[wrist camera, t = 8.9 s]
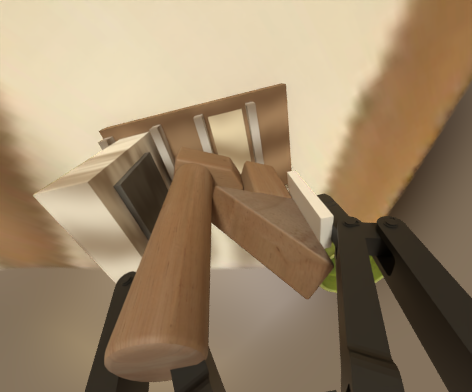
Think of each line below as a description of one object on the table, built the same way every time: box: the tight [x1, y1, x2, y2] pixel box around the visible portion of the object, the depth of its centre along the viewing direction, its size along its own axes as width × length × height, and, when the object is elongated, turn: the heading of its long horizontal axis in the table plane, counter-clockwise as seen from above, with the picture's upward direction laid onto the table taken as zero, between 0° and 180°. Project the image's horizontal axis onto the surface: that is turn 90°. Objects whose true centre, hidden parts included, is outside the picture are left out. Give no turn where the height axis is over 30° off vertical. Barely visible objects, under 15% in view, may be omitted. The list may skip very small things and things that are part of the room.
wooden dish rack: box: [33, 84, 291, 283], centre depth 22 cm, size 14×24×16 cm, turn 102°
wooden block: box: [104, 147, 334, 382], centre depth 15 cm, size 4×11×18 cm, turn 75°
